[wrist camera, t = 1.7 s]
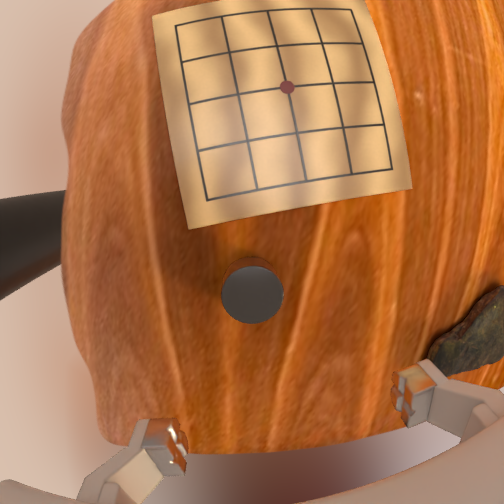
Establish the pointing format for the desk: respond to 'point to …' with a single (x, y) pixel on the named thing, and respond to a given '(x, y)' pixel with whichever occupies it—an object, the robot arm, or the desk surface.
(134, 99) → the desk surface
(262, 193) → the go board
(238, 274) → the game stone
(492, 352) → the stone
